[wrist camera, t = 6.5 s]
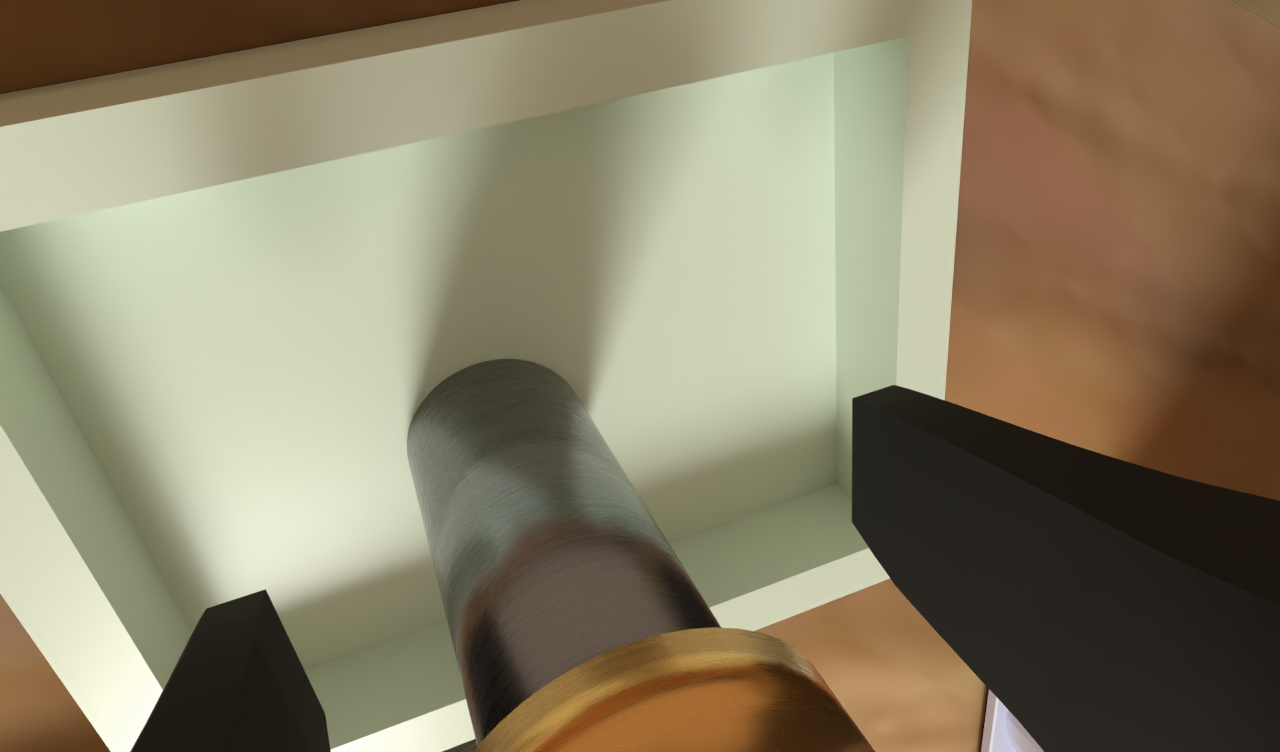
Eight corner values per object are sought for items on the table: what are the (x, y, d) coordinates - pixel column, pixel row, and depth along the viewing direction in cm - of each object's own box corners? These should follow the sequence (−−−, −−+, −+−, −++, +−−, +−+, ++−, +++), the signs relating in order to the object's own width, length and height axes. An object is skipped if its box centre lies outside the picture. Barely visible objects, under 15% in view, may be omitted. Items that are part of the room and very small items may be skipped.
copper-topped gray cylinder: (606, 300, 14) (900, 647, 7) (625, 505, 16) (870, 918, 9) (340, 357, 13) (408, 830, 6) (398, 570, 15) (495, 1092, 8)
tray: (869, -64, 13) (975, -58, 11) (862, 490, 19) (933, 561, 17) (-172, 124, 10) (-287, 181, 8) (194, 728, 16) (181, 852, 14)
